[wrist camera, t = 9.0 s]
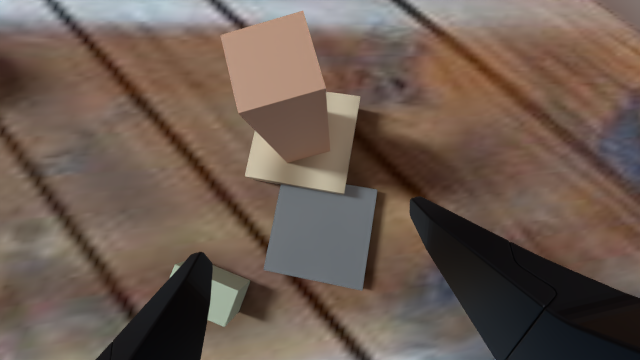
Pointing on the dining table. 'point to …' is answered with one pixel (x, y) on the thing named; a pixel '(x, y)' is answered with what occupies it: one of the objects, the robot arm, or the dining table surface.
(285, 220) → the slate tile
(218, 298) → the sage brick
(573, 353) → the robot arm
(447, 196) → the dining table surface
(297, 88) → the tall terracotta brick
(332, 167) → the beech pedestal
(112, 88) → the dining table surface
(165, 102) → the dining table surface
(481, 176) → the dining table surface
